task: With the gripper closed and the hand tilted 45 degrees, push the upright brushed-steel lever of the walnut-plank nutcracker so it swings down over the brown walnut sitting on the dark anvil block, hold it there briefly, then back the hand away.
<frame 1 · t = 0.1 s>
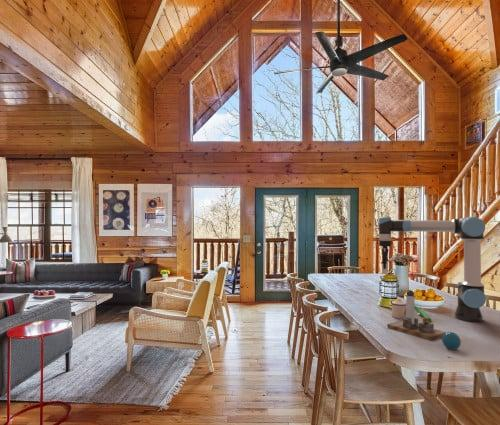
hand: (385, 272, 226), 28 cm above the table, tool pointing down, fingers open, 13 cm apart
teacup with lid: (398, 316, 223), on the table
lever: (410, 307, 194), point 13 cm above the table, hinge at 0.0°
green onion: (420, 315, 225), on the table
ball: (451, 349, 165), on the table
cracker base: (410, 330, 194), on the table
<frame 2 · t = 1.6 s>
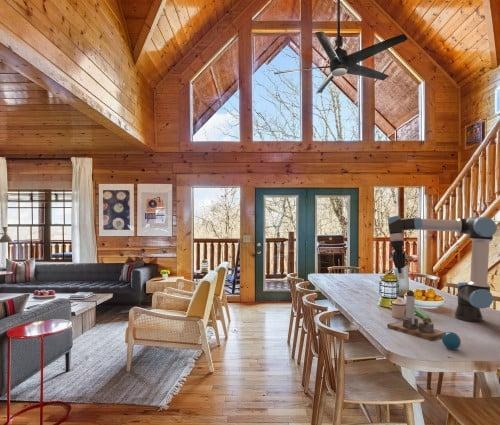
hand: (401, 278, 212), 26 cm above the table, tool pointing down, fingers closed
green onion: (416, 315, 226), on the table
everything else where it was.
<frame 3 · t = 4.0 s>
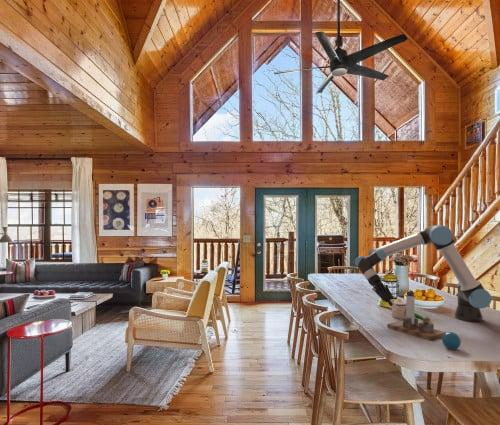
hand: (396, 309, 201), 10 cm above the table, tool tilted 45°, fingers closed
green onion: (411, 315, 226), on the table
everything else where it was.
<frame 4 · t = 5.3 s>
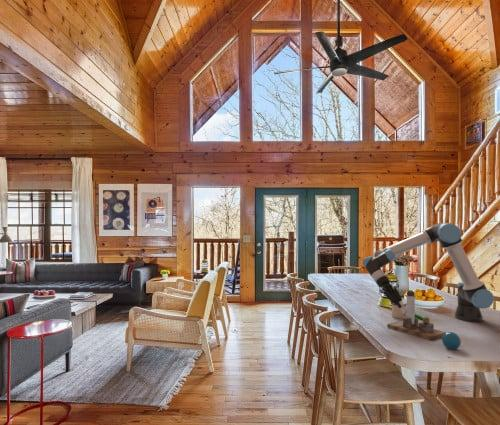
hand: (405, 312, 196), 9 cm above the table, tool tilted 45°, fingers closed
lever: (410, 307, 194), point 13 cm above the table, hinge at 0.9°, touching gripper
green onion: (408, 315, 225), on the table
everything else where it was.
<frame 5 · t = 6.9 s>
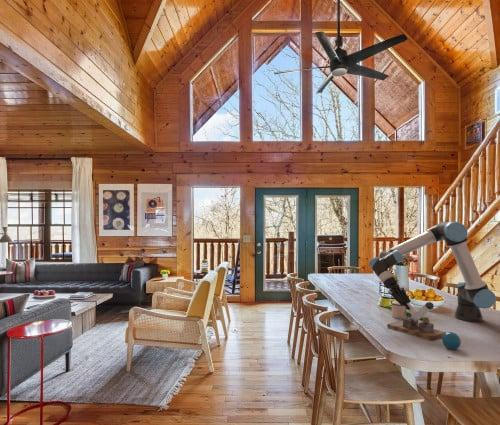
hand: (414, 314, 192), 10 cm above the table, tool tilted 45°, fingers closed
lever: (420, 313, 189), point 11 cm above the table, hinge at 43.8°, touching gripper
green onion: (405, 316, 225), on the table
everything else where it was.
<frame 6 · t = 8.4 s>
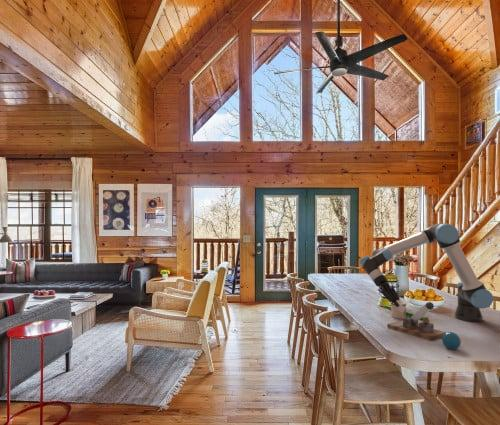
hand: (403, 311, 197), 10 cm above the table, tool tilted 45°, fingers closed
lever: (420, 313, 189), point 11 cm above the table, hinge at 43.9°
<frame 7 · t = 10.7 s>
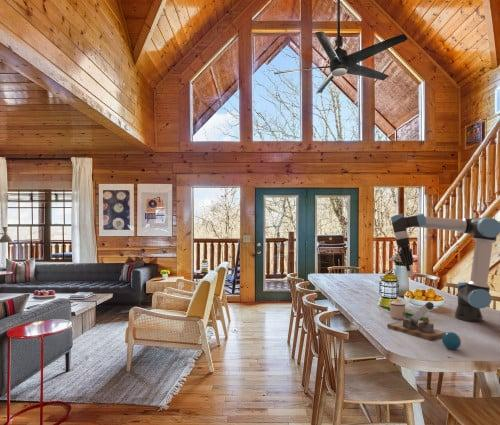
hand: (411, 276, 212), 28 cm above the table, tool pointing down, fingers closed
teacup with lid: (397, 316, 222), on the table, touching green onion
green onion: (403, 316, 224), on the table, touching teacup with lid
everything else where it was.
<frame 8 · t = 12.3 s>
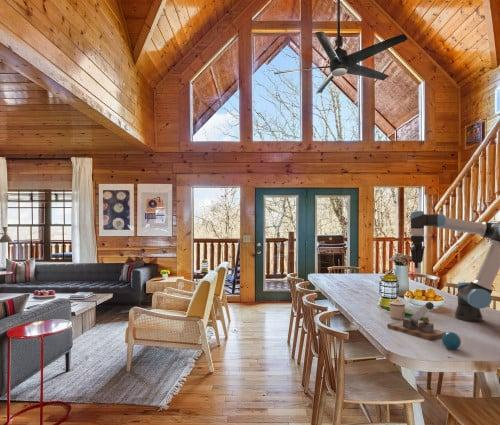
hand: (417, 273, 215), 29 cm above the table, tool pointing down, fingers closed
teacup with lid: (397, 317, 221), on the table
green onion: (402, 316, 224), on the table
everything else where it was.
at the end: lever at +44° (first picture: +0°); the gripper is holding nothing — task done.
